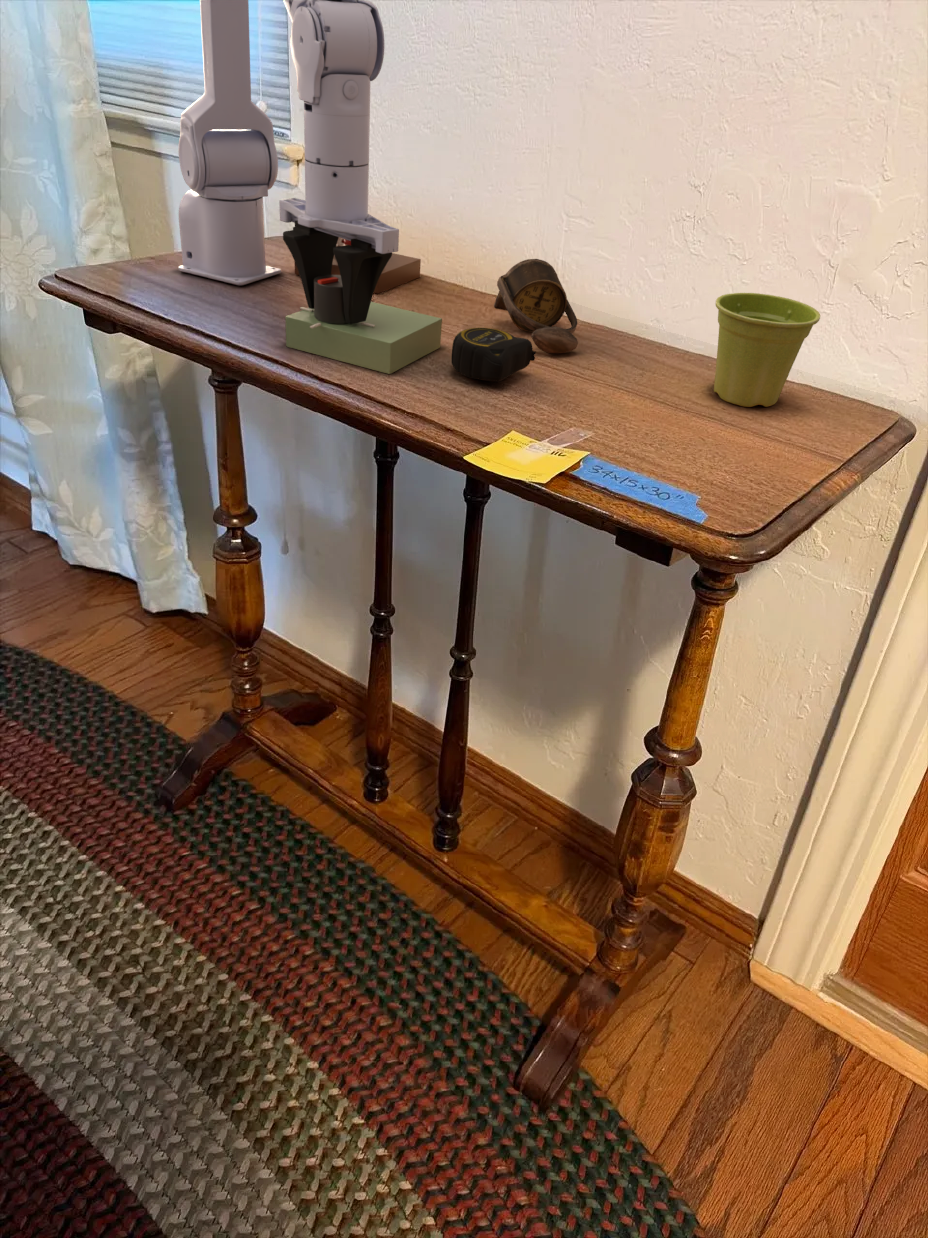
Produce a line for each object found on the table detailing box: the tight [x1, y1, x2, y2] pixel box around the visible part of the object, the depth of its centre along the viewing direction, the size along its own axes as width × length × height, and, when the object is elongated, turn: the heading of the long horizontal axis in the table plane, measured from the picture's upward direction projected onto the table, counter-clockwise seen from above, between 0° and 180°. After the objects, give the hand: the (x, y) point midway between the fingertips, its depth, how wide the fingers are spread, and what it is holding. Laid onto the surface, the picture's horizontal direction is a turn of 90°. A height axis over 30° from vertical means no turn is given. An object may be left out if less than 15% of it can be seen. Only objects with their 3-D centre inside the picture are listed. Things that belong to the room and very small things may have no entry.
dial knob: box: [314, 275, 348, 324], centre depth 90 cm, size 4×4×4 cm
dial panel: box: [284, 301, 443, 375], centre depth 92 cm, size 12×11×3 cm
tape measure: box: [451, 327, 537, 382], centre depth 88 cm, size 7×7×4 cm
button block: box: [293, 237, 422, 294], centre depth 114 cm, size 12×10×4 cm
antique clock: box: [493, 258, 579, 354], centre depth 99 cm, size 7×13×10 cm
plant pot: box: [713, 292, 821, 408], centre depth 88 cm, size 9×9×9 cm
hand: (336, 313), depth 91 cm, fingers open, 5 cm apart
